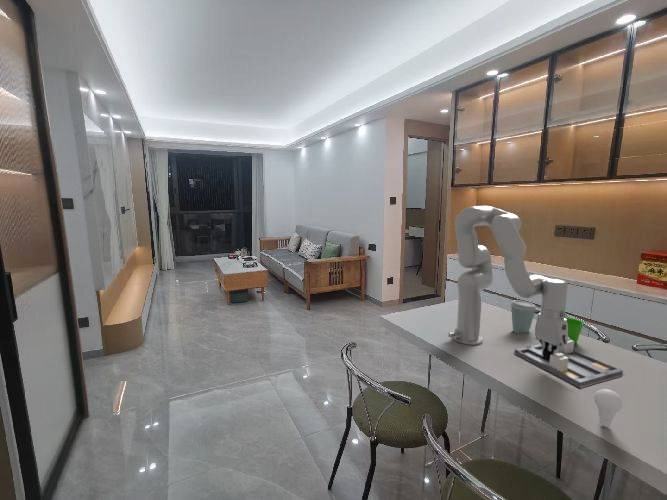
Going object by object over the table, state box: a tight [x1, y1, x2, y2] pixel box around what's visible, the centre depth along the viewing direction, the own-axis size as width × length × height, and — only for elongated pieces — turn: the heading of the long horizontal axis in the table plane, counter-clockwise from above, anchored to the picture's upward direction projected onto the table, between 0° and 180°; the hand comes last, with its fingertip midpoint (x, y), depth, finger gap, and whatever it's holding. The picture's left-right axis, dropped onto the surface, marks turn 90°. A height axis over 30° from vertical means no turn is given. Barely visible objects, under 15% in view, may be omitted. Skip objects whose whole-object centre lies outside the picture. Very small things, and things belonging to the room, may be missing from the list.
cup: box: [565, 317, 585, 345], centre depth 145 cm, size 9×9×11 cm
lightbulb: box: [593, 388, 623, 428], centre depth 94 cm, size 6×6×11 cm
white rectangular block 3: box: [561, 337, 575, 354], centre depth 136 cm, size 4×4×6 cm
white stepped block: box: [549, 353, 569, 372], centre depth 122 cm, size 4×4×6 cm
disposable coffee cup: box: [510, 300, 537, 335], centre depth 158 cm, size 11×11×15 cm
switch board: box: [513, 343, 624, 390], centre depth 128 cm, size 22×26×2 cm
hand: (547, 359), depth 126 cm, fingers closed
